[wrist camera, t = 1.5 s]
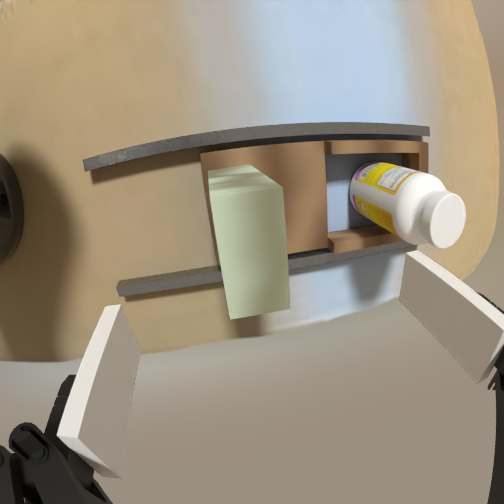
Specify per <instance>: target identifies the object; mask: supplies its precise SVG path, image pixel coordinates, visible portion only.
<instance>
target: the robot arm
mask: <svg viewBox="0 0 504 504" xmlns="http://www.w3.org/2000/svg"><path fill="white" fill-rule="evenodd" d="M22 229H23V202H22V196H21V191H20V187H19V184H18V181H17V178H16V176H15V174H14V171H13V170H12V168H11V166H10V164H9V163H8V162H7V160H6V159H5V158H4V157H3V156H2V155H1V154H0V265H1V264H3V263H4V262H5V261H6V260H7V259H8V258H10V257H11V256H12V254H13V253H14V252H15V250H16V248H17V247H18V244H19V242H20V239H21V235H22ZM399 301H400V302H401V303H402V304H403V305H404V306H405V307H406V308H407V309H408V310H409V311H410V312H411V313H412V314H413V315H414V316H415V317H416V318H417V319H418V320H419V321H420V322H421V323H422V324H423V326H424V327H425V328H426V329H427V330H428V331H429V332H430V333H431V334H432V335H433V336H434V337H435V338H436V339H437V340H438V341H439V342H440V343H441V344H442V346H443V347H445V349H446V350H447V351H448V352H449V353H450V354H451V355H452V356H453V357H454V359H455V360H456V361H457V362H458V363H459V364H460V365H461V366H462V368H463V369H464V370H465V371H466V372H467V373H468V374H469V375H470V377H471V378H472V379H473V380H474V381H475V383H476V384H478V383H480V382H481V381H483V380H484V379H486V378H487V377H488V376H489V374H490V372H491V371H492V369H493V367H494V366H495V367H496V368H497V371H496V373H495V375H494V377H493V378H492V380H491V382H490V383H489V385H488V389H490V388H491V386H492V385H493V383H494V382H495V386H494V387H493V390H496V442H495V443H496V444H495V456H494V467H493V474H492V481H491V488H490V493H489V498H488V503H487V504H504V311H502V310H501V309H500V308H499V307H496V305H495V304H494V303H493V302H490V300H489V299H488V298H486V297H485V296H484V295H482V294H480V293H478V292H476V291H474V290H472V289H471V288H470V287H468V286H467V285H466V284H464V283H463V282H462V281H460V280H459V279H458V278H456V277H455V276H454V275H452V274H451V273H449V272H448V271H447V270H445V269H444V268H442V267H441V266H440V265H438V264H437V263H435V262H434V261H432V260H431V259H429V258H428V257H427V256H425V255H424V254H422V253H421V252H419V251H418V250H416V251H412V252H407V253H406V256H405V264H404V271H403V278H402V285H401V291H400V297H399ZM140 355H141V351H140V349H139V347H138V344H137V342H136V340H135V337H134V335H133V333H132V330H131V328H130V326H129V323H128V321H127V318H126V316H125V313H124V311H123V308H122V306H121V304H119V305H112V306H106V307H105V309H104V311H103V313H102V315H101V317H100V320H99V322H98V324H97V326H96V329H95V331H94V333H93V336H92V338H91V340H90V343H89V345H88V347H87V350H86V352H85V355H84V357H83V360H82V363H81V365H80V367H79V370H78V373H77V375H69V376H68V377H67V378H66V380H65V381H64V382H63V383H62V384H61V387H60V389H59V392H58V395H57V396H58V397H57V398H56V400H55V403H54V406H53V408H52V411H51V414H50V417H49V420H48V423H47V426H46V429H45V432H44V434H43V433H42V432H41V430H40V429H39V428H38V427H37V426H36V425H34V424H32V423H26V422H25V423H22V424H19V425H18V426H17V427H16V428H14V430H13V431H12V433H11V434H10V438H9V448H10V449H11V450H12V451H14V452H15V453H10V452H9V451H8V450H7V449H6V448H5V447H3V446H1V445H0V504H113V503H112V502H111V501H110V499H109V498H108V497H107V495H106V494H105V493H104V491H103V490H102V488H101V487H100V485H99V484H98V482H97V481H96V480H95V479H94V478H93V474H94V470H95V471H96V472H97V473H99V474H100V475H101V476H103V477H110V478H121V479H122V474H123V462H124V454H125V445H126V437H127V430H128V423H129V416H130V410H131V403H132V397H133V391H134V386H135V380H136V375H137V369H138V365H139V359H140ZM24 498H25V502H24Z"/></svg>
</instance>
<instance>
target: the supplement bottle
mask: <svg viewBox="0 0 504 504" xmlns="http://www.w3.org/2000/svg"><path fill="white" fill-rule="evenodd" d="M350 198H351V202H352V204H353V206H354V208H355V209H356V210H357V211H358V212H359V213H360V214H361V215H363V216H364V217H366V218H368V219H370V220H371V221H373V222H375V223H376V224H378V225H380V226H381V227H383V228H385V229H387V230H388V231H390V232H392V233H393V234H395V235H396V236H398V237H400V238H401V239H403V240H404V241H406V242H408V243H410V244H414V245H422V244H426V243H428V242H429V243H430V244H432V245H434V246H435V247H437V248H441V249H444V248H447V247H450V246H451V245H452V244H454V243H455V242H456V240H457V239H458V238H459V236H460V234H461V232H462V230H463V227H464V224H465V217H466V212H465V206H464V203H463V201H462V199H461V198H460V197H459V196H458V195H456V194H453V193H451V192H449V191H446V189H445V187H444V185H443V184H442V182H441V181H440V180H439V179H438V178H436V177H435V176H433V175H430V174H427V173H424V172H420V171H416V170H413V169H409V168H405V167H401V166H397V165H393V164H389V163H384V162H379V161H372V162H368V163H366V164H364V165H362V166H361V167H360V168H359V169H358V170H357V171H356V172H355V174H354V175H353V178H352V180H351V184H350Z"/></svg>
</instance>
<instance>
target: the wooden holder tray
mask: <svg viewBox="0 0 504 504" xmlns="http://www.w3.org/2000/svg"><path fill="white" fill-rule="evenodd" d="M325 153H327V154H354V153H403V154H404V167H405V168H409V169H413V170H416V171H420V172H424V173H427V174H428V143H426V142H420V141H413V140H324V141H305V142H291V143H278V144H267V145H258V146H248V147H240V148H232V149H225V150H217V151H211V152H204V153H200V158H201V165H202V172H203V179H204V186H205V192H206V199H207V205H208V212H209V218H210V224H211V231H212V237H213V243H214V248H215V254H216V260H217V266H218V265H221V271H222V276H223V282H224V288H225V293H226V299H227V304H228V310H229V315H230V320H231V319H237V318H242V317H248V316H254V315H259V314H265V313H270V312H275V311H281V310H286V309H290V290H289V271H288V254H291V253H297V252H303V251H309V250H315V249H321V248H326V247H328V248H329V249H330V250H331V251H332V252H333V253H334V254H336V253H342V252H347V251H353V250H358V249H364V248H369V247H374V246H380V245H385V244H390V243H396V242H401V241H404V240H403V239H401V238H400V237H398V236H396V235H395V234H393V233H392V232H390V231H388V230H387V229H385V228H383V227H381V226H380V225H375V226H368V227H362V228H355V229H349V230H342V231H336V232H329V233H328V228H327V189H326V168H325Z"/></svg>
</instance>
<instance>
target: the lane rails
mask: <svg viewBox="0 0 504 504" xmlns="http://www.w3.org/2000/svg"><path fill="white" fill-rule="evenodd" d="M319 134H399V135H418V136H430V129H429V127H427V126H417V125H404V124H388V123H361V122H325V123H297V124H280V125H267V126H256V127H246V128H237V129H229V130H221V131H214V132H207V133H200V134H194V135H188V136H182V137H176V138H171V139H166V140H161V141H156V142H151V143H146V144H142V145H138V146H133V147H129V148H125V149H121V150H117V151H113V152H109V153H105V154H102V155H98V156H94V157H91V158H88V159H84V160H83V164H84V169H85V171H89V170H93V169H96V168H100V167H104V166H108V165H111V164H115V163H119V162H124V161H128V160H132V159H137V158H141V157H146V156H150V155H155V154H160V153H165V152H170V151H176V150H181V149H187V148H193V147H199V146H206V145H212V144H219V143H227V142H234V141H243V140H252V139H261V138H272V137H284V136H299V135H319ZM411 246H416V245H414V244H410V243H408V242H406V241H401V242H396V243H390V244H385V245H380V246H374V247H369V248H364V249H358V250H353V251H347V252H342V253H336V254H334V253H333V252H332V251H331V250H330V249H329V248H328V247H326V248H321V249H315V250H309V251H303V252H297V253H291V254H288V270H291V269H297V268H302V267H308V266H313V265H319V264H324V263H329V262H335V261H340V260H345V259H351V258H356V257H361V256H366V255H371V254H376V253H381V252H386V251H391V250H396V249H401V248H406V247H411ZM221 281H223V276H222V271H221V265H218V266H211V267H205V268H198V269H192V270H186V271H180V272H173V273H167V274H161V275H154V276H148V277H142V278H135V279H129V280H122V281H119V283H118V285H117V287H116V288H117V291H118V294H119V297H121V296H129V295H136V294H143V293H149V292H156V291H163V290H170V289H176V288H183V287H189V286H196V285H202V284H208V283H214V282H221Z"/></svg>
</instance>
